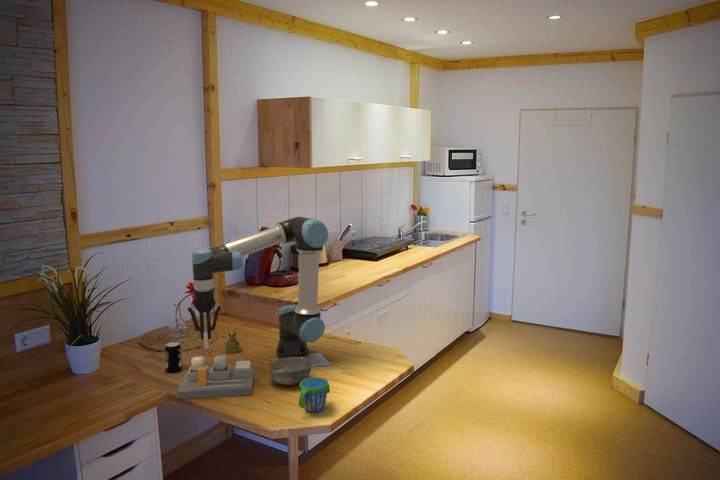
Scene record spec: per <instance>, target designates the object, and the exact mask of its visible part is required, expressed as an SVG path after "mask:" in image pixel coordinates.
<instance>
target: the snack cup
mask: <svg viewBox="0 0 720 480" xmlns="http://www.w3.org/2000/svg"><path fill="white" fill-rule="evenodd" d="M298 384H299V388H300V394H299V398H298V407H299V408H302V409H305V410H306V411H307V412H308V411H310V412H309V413H315V412H316V413H319V412H318V411H320V412H322V411H324V409H325V408H326V404H327V396H328V395H327V394H329V393H330V392H331V391H330V390H331V389H330V383H329V380H327V379H326V378H323V377H315V376H314V377H306V378H305V379H304V380H302V381H301V382H300V383H298ZM321 410H322V411H321Z"/></svg>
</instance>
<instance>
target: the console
mask: <svg viewBox="0 0 720 480" xmlns="http://www.w3.org/2000/svg"><path fill="white" fill-rule="evenodd" d="M204 367H207V386H201V387H198V372H192V366H189V369H188V372H187V373H184V376H183V379H182V380H181V382H180V385H179V387H178V389H177V392H176V397H177V398H176V399H177V400H189V399H206V398H209V399H211V398H222V397H223V398H227V397H241V396H240V395H246V396H252V393H253V388H254V383H253V382H255V370H254V369H252V367H250V371H239V372H236V370H233V371H232V369H231V364H227V369H226V370H224V371H215V367H214V365H212V368H211V370H210V372H209V365H204ZM226 396H227V397H226Z"/></svg>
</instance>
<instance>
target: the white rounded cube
mask: <svg viewBox="0 0 720 480" xmlns="http://www.w3.org/2000/svg"><path fill="white" fill-rule="evenodd" d="M190 361H191V367H192V372H198V368H199V367H204V366H205V359H204V356H199V355H198V356H193V357H191V359H190Z"/></svg>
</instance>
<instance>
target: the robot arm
mask: <svg viewBox="0 0 720 480" xmlns="http://www.w3.org/2000/svg"><path fill="white" fill-rule="evenodd" d="M328 239H329V231H328V228H327V226H326V225H325V224H324V222H322V221H321V220H318V219H316V218H309V217H304V216H295V217H292V218H289V219H286V220H282V221H281V222H278V223H275V224H274V225H273V227H270V228H268V229H264V230H261V231H258V232H256V233H252V234H250V235H247V236H244V237H241V238H238V239H235V240H233V241H230V242H227V243H224V244H222V245H218V246H207V247H205V248H203V249H202V248H201V249H200V248H199V249H195V250H193V251H192V255H191V258H192V259H191V263H192V277H193V279H192V281H193V289H194V290H193V299H194V301H193V303H192V305H189V306H188V308H187V311H188V313H190V316H191V319H192V323H193V326H194V329H195V331H196V332H200V339H201V340H203V348H204V349H209V346H210V344H209V342H210V341H209V340H212V331H215V330H216V327H217V323H218V322H217V321H218V316H219V312H220V311H221V309H222V305H221V304H218V303H216V302H217V301H216V300H215V290H214V274H217V273H223V272H234V271H238V270H240V269H242V267H243V265H244V264H243V262H244V261H243V257H245V256H249V255H251V254H253V253H254V254H255V253H257V252H259V251H262V250H265V249H267V248H271V247H272V246H275V245H278V244H280V245H284V244H288V243H296V244H295V250H296V251H297V252H298V254H299V256H298V257H299V258H298V283H297V284H298V286H297V287H298V288H297V289H298V290H297V304H287V305H284V306H281V307H280V308H278V316H277V317H278V335H279V336H278V337H279V338H278V341H277V345H276V349H275V355H276V357H277V358H279V359H282V358H289V357H303V358H305V357H307V356H309V354H310V350H309V349H310V348H309V346H308V343H309V344H311V343H315V342H317V341H319V339H320V338H322V336H323V335H324V332H325V329H326V327H325V322H324V320H322V318H321V310H320V308H319V307H318V297H319V292H318V290H319V269H320V268H319V267H320V265H319V264H320V263H319V262H320V254H321V252H322V251H323V250H324V246H325V243H326V242H327V241H328ZM195 309H196V310H197V312H198V313H199V321H198V318H197V314H196V312H195ZM213 309H214V310H215V312H214V317H213V321H211V320H212V319H211V311H212V310H213ZM205 314H206V315H205ZM204 315H205V316H206V329H205V319H204V318H205V316H204ZM211 323H212V324H211ZM306 355H307V356H306ZM304 356H305V357H304Z"/></svg>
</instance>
